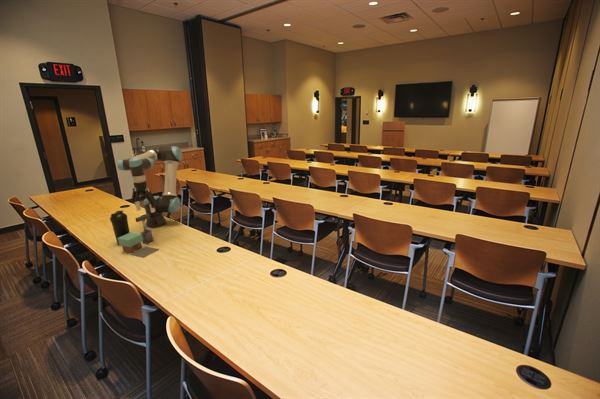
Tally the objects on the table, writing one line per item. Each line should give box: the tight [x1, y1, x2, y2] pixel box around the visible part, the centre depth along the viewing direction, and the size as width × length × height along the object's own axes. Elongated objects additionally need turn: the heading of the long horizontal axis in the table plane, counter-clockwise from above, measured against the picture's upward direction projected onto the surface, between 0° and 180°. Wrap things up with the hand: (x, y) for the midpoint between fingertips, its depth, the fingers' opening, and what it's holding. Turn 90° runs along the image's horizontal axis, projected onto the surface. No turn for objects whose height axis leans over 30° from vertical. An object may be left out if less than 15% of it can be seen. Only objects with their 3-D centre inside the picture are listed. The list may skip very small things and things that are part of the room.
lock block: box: [139, 230, 154, 245], centre depth 205 cm, size 5×5×8 cm
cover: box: [118, 231, 143, 247], centre depth 193 cm, size 10×10×5 cm
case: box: [121, 242, 143, 254], centre depth 195 cm, size 8×8×5 cm
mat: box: [129, 246, 160, 258], centre depth 191 cm, size 12×12×1 cm
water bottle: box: [109, 210, 131, 246], centre depth 204 cm, size 10×10×23 cm
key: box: [134, 214, 155, 233], centre depth 200 cm, size 10×9×11 cm
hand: (146, 211), depth 203 cm, fingers open, 13 cm apart
